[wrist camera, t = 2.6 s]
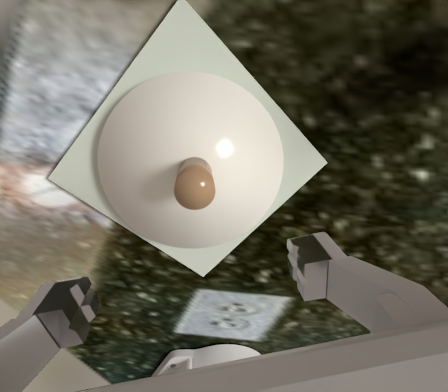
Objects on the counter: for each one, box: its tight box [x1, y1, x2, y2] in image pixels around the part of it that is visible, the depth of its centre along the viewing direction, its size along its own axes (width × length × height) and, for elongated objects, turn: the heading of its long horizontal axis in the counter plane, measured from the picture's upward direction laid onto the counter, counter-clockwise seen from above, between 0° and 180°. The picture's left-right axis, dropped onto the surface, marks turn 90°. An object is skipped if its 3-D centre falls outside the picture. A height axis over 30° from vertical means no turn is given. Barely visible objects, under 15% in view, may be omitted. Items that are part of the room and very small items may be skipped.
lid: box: [98, 71, 283, 249], centre depth 20 cm, size 16×16×5 cm
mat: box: [48, 0, 327, 277], centre depth 22 cm, size 18×18×1 cm
